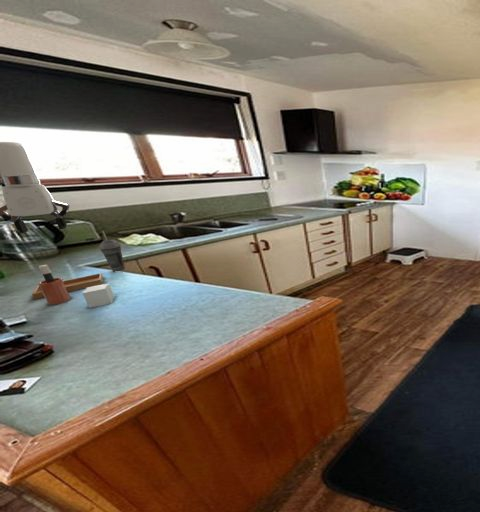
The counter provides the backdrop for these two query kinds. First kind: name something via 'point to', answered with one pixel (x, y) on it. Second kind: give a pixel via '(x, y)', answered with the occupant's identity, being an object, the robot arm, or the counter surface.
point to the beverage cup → (112, 254)
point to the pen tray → (75, 284)
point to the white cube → (98, 295)
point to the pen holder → (54, 291)
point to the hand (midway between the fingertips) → (44, 230)
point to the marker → (46, 273)
